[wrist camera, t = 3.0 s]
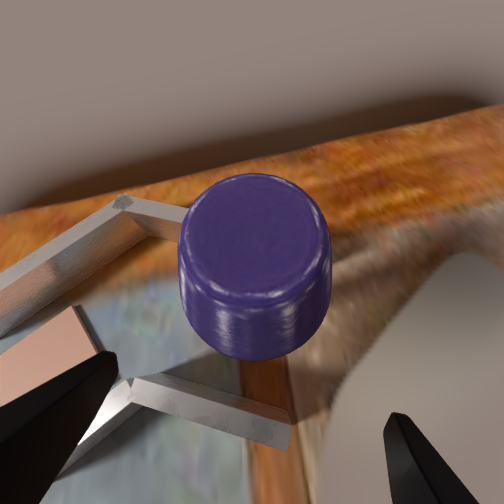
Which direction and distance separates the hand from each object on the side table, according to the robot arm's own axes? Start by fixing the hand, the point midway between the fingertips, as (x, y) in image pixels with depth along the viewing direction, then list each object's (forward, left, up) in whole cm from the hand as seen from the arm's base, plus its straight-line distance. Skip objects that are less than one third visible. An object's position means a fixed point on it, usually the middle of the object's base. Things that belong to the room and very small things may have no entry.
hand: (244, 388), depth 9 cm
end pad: (+3, +15, -11) cm, 19 cm away
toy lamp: (+3, -1, -12) cm, 12 cm away
